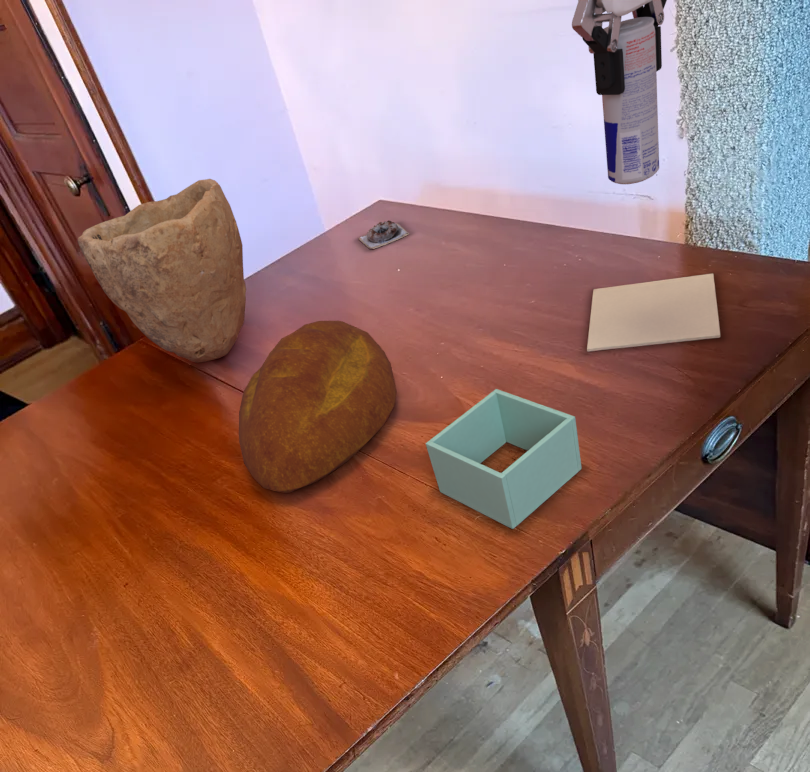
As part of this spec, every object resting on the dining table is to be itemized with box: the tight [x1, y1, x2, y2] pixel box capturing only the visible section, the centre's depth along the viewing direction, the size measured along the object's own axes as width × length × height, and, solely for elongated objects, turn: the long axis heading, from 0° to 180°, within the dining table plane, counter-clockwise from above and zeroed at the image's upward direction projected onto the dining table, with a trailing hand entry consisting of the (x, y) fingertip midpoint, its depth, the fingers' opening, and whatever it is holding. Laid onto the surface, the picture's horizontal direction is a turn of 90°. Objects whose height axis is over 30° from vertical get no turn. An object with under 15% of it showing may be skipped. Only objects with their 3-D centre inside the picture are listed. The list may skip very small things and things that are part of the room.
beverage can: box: [601, 17, 660, 185], centre depth 81 cm, size 6×6×15 cm
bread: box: [238, 320, 398, 494], centre depth 97 cm, size 21×33×12 cm, turn 163°
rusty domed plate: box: [357, 220, 410, 250], centre depth 143 cm, size 8×8×2 cm
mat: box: [586, 272, 721, 353], centre depth 100 cm, size 16×16×1 cm
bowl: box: [77, 178, 247, 364], centre depth 117 cm, size 22×22×25 cm
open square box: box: [425, 388, 582, 530], centre depth 80 cm, size 11×11×7 cm
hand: (629, 80), depth 79 cm, fingers closed on beverage can, 5 cm apart
